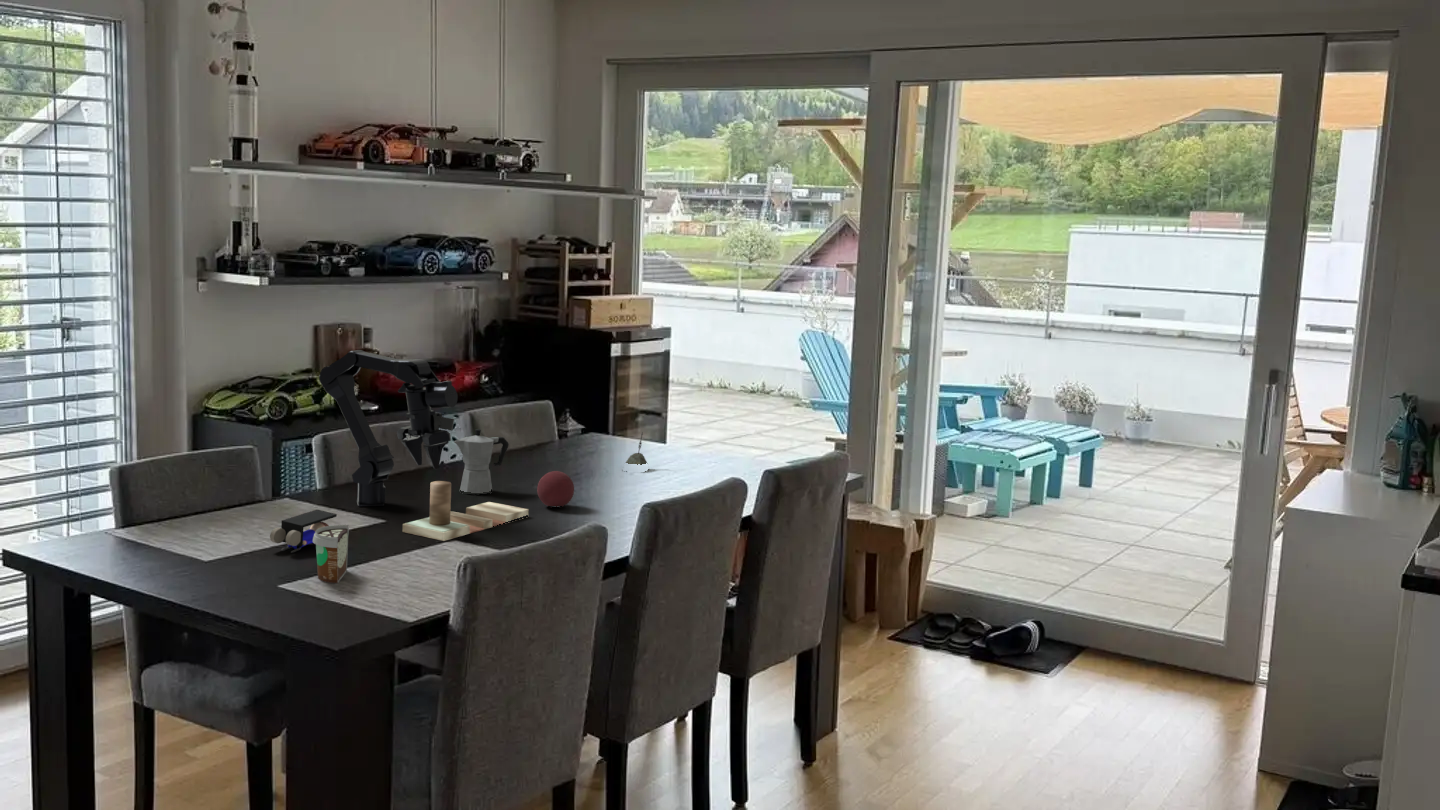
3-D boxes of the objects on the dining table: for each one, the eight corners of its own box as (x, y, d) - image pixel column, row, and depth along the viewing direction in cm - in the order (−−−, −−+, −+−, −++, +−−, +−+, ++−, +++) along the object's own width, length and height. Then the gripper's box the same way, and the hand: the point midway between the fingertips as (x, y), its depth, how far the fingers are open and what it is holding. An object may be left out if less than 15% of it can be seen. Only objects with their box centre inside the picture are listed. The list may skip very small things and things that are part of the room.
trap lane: (488, 509, 341) (489, 501, 340) (528, 516, 335) (528, 508, 334) (402, 532, 312) (402, 523, 311) (443, 540, 306) (444, 532, 305)
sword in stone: (640, 474, 399) (642, 437, 398) (618, 471, 402) (620, 434, 401) (654, 469, 409) (656, 433, 407) (632, 466, 411) (634, 430, 410)
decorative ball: (558, 501, 354) (559, 466, 353) (580, 509, 347) (582, 472, 346) (529, 505, 347) (530, 469, 346) (551, 513, 340) (552, 476, 339)
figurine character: (293, 562, 286) (339, 541, 299) (290, 530, 284) (337, 510, 297) (270, 557, 288) (317, 537, 302) (267, 525, 286) (314, 506, 300)
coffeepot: (456, 496, 354) (457, 432, 351) (449, 488, 362) (451, 426, 360) (510, 494, 360) (513, 431, 357) (502, 487, 368) (505, 426, 366)
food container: (319, 568, 277) (319, 523, 276) (348, 569, 278) (349, 524, 276) (305, 584, 265) (306, 537, 264) (336, 585, 266) (337, 538, 264)
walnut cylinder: (430, 525, 310) (431, 485, 309) (428, 520, 315) (429, 481, 314) (451, 525, 312) (452, 485, 311) (448, 520, 317) (449, 480, 315)
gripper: (464, 405, 328) (473, 464, 330) (430, 399, 342) (438, 456, 345) (425, 413, 321) (434, 473, 323) (392, 408, 335) (400, 465, 338)
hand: (428, 466), depth 332 cm, fingers open, 9 cm apart
